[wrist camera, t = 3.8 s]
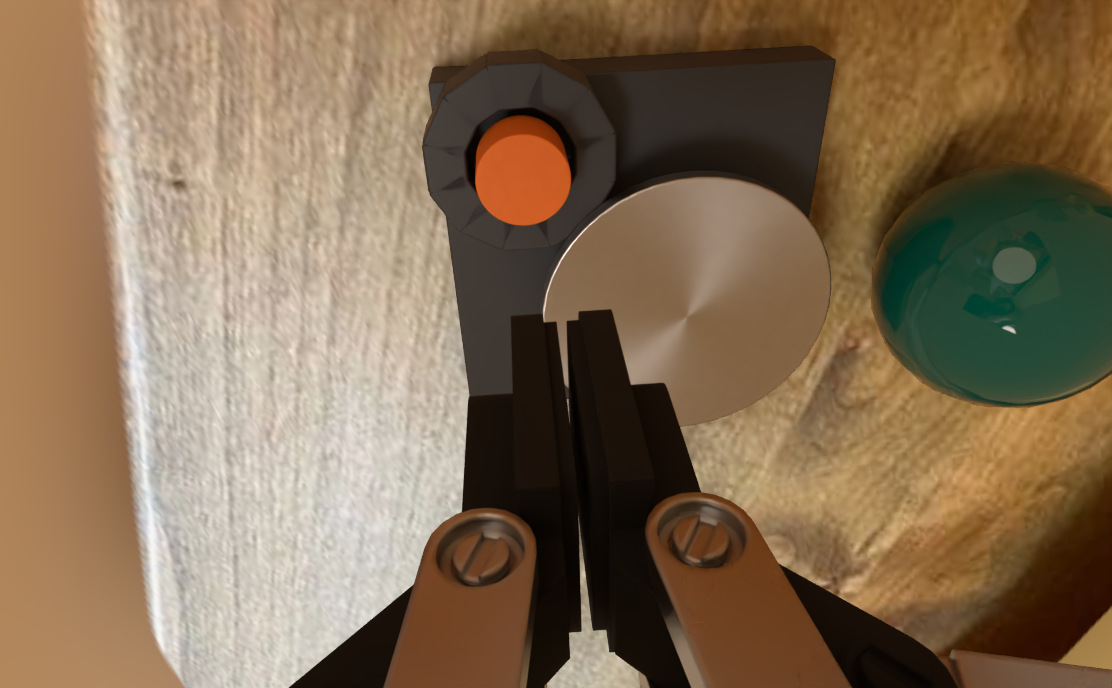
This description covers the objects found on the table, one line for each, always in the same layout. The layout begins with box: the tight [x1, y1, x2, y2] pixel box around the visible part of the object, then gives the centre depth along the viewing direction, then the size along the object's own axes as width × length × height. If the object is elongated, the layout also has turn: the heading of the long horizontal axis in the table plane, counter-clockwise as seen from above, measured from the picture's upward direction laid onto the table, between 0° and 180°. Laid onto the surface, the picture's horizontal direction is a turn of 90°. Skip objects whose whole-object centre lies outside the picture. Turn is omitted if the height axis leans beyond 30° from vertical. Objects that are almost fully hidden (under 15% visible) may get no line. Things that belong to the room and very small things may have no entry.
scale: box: [422, 46, 836, 399], centre depth 24 cm, size 12×13×4 cm
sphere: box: [871, 162, 1112, 408], centre depth 24 cm, size 8×8×8 cm
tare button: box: [475, 115, 571, 225], centre depth 20 cm, size 3×3×2 cm
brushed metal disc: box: [541, 171, 831, 427], centre depth 24 cm, size 9×9×1 cm
